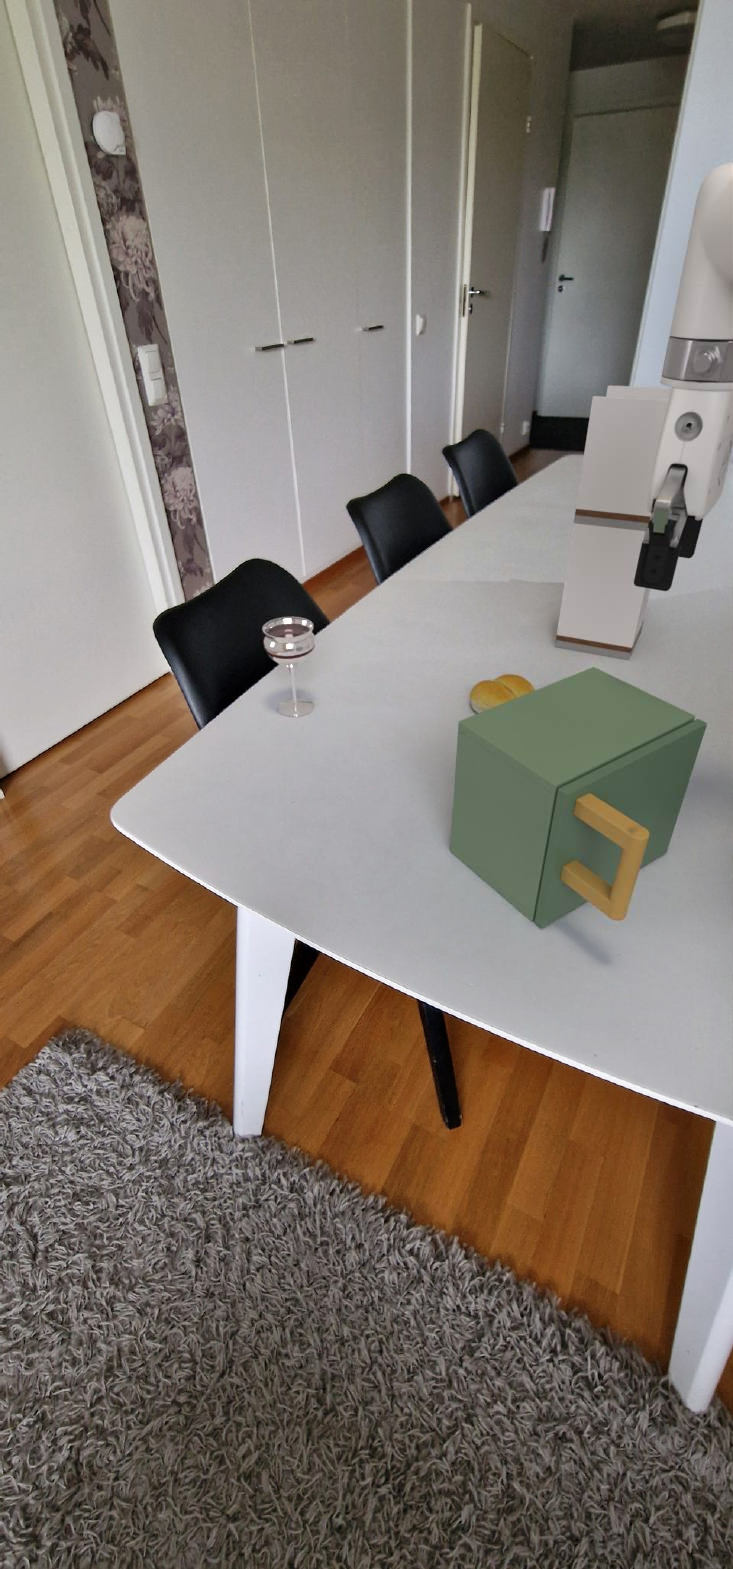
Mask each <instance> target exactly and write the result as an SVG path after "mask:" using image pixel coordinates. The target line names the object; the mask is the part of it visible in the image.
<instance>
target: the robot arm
mask: <svg viewBox="0 0 733 1569" xmlns="http://www.w3.org/2000/svg"><path fill="white" fill-rule="evenodd" d="M690 226H691V227H690V230H689V235H688V240H687V246H686V251H685V256H684V262H683V265H682V270H681V277H680V281H679V286H678V291H677V295H676V301H675V307H674V311H673V315H672V316H673V317H672V321H671V326H670V331H669V337H668V342H667V346H666V351H665V355H664V361H663V366H662V372H661V377H660V384H661V385H663V386H667V387H669V388H672V390H671V395H670V399H669V403H668V407H667V411H666V413H665V419H664V423H663V427H662V431H661V436H660V440H659V444H658V449H657V453H656V458H655V462H654V467H653V472H652V477H651V482H650V487H649V493H648V499H647V509H648V511H649V512H650V513H651V514H652V515H651V518H650V520H649V523H648V526H647V529H646V532H645V535H644V539H643V541H642V545H641V550H640V555H639V559H638V564H637V569H636V574H635V578H634V585H635V586H638V587H643V588H649V589H650V590H655V591H662V592H669V590H670V589H671V588H672V586H673V583H674V582H673V581H674V577H675V574H676V573H675V572H676V569H677V565H678V560H679V558H682V559H683V558H684V559H691V558H693V557H694V555H695V553H696V549H697V544H698V540H699V536H700V533H701V529H702V525H703V521H704V519H705V517H707V516H708V515H709V513H710V512H711V511H712V510H713V508H714V507H715V506H716V504H717V503H718V502H719V500H720V498H721V496H722V494H723V490H724V486H725V481H726V477H727V472H728V468H729V464H730V460H731V456H732V451H733V161H731V162H727V163H723V164H720V165H718V166H716V167H714V168H713V169H712V170H710V172H708V173H707V175H706V177H705V178H704V179H703V181H702V183H701V185H700V187H699V189H698V193H697V197H696V201H695V206H694V210H693V216H692V221H691V224H690Z"/></svg>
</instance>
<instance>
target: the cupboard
mask: <svg viewBox="0 0 733 1569" xmlns="http://www.w3.org/2000/svg"><path fill="white" fill-rule="evenodd" d="M695 720H696V715H694V714H693V713H690V712H688V711H686V710H685V709H684V710H683V709H682V708H680V707H678V706H676V705H673V704H672V703H670V702H667V701H666V700H663V699H661V698H659V697H657V696H655V695H653V694H651V693H649V692H648V691H645V690H642V689H640V688H639V687H636V686H634V685H632V684H631V683H628V682H626V681H624V680H622V679H620V678H618V677H616V676H614V675H611V674H610V673H608V672H605V671H603V670H601V669H599V668H597V667H595V666H592V667H589V668H587V669H584V670H582V671H579V672H577V673H575V674H572V675H570V676H567V677H564V678H563V679H560V680H557V681H555V682H552V683H550V684H547V685H545V686H543V687H541V688H537V689H535V691H533V692H530V693H528V694H525V695H523V696H520V697H518V698H515V699H513V700H510V701H508V702H506V703H503V704H501V705H498V706H496V707H493V708H491V709H488V710H486V711H483V712H481V713H477V714H474V715H471V716H468V717H466V718H464V719H461V720H459V721H458V727H457V738H456V739H457V741H456V754H455V770H454V783H453V784H454V785H453V786H454V787H453V801H452V815H451V828H450V829H451V831H450V845H449V852H450V853H451V854H452V855H454V857H456V858H457V859H458V860H459V861H461V862H462V863H463V864H464V865H465V866H467V868H469V869H470V870H471V871H472V872H473V873H474V874H476V875H477V876H478V877H479V878H480V879H482V880H483V881H484V882H485V883H486V884H487V885H488V886H490V888H492V889H493V890H494V891H495V892H496V893H497V894H498V895H500V896H501V897H502V898H503V899H504V900H506V902H508V903H509V904H510V905H512V906H513V907H514V908H515V909H516V910H517V911H519V912H520V914H522V915H523V916H524V917H525V918H526V919H528V921H530V922H532V923H533V922H534V921H535V916H536V910H537V904H538V899H539V893H540V887H541V882H542V876H543V871H544V865H545V859H546V854H547V848H548V843H549V837H550V831H551V826H552V820H553V815H554V809H555V803H556V798H557V792H558V789H559V788H561V787H563V786H565V785H567V784H569V783H571V782H573V781H575V780H577V779H579V778H581V777H583V776H585V775H587V774H589V773H591V772H593V771H595V770H597V769H599V768H601V767H603V766H605V765H607V764H609V763H611V762H613V761H615V760H617V759H619V758H621V757H623V756H625V755H627V754H629V753H631V752H633V751H635V750H637V749H639V748H641V747H643V746H645V745H647V744H649V743H651V742H653V741H655V740H657V739H659V738H661V737H663V736H665V735H667V734H669V733H671V732H673V731H675V730H677V729H679V728H681V727H683V726H685V725H687V724H689V723H691V722H693V721H695Z"/></svg>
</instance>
